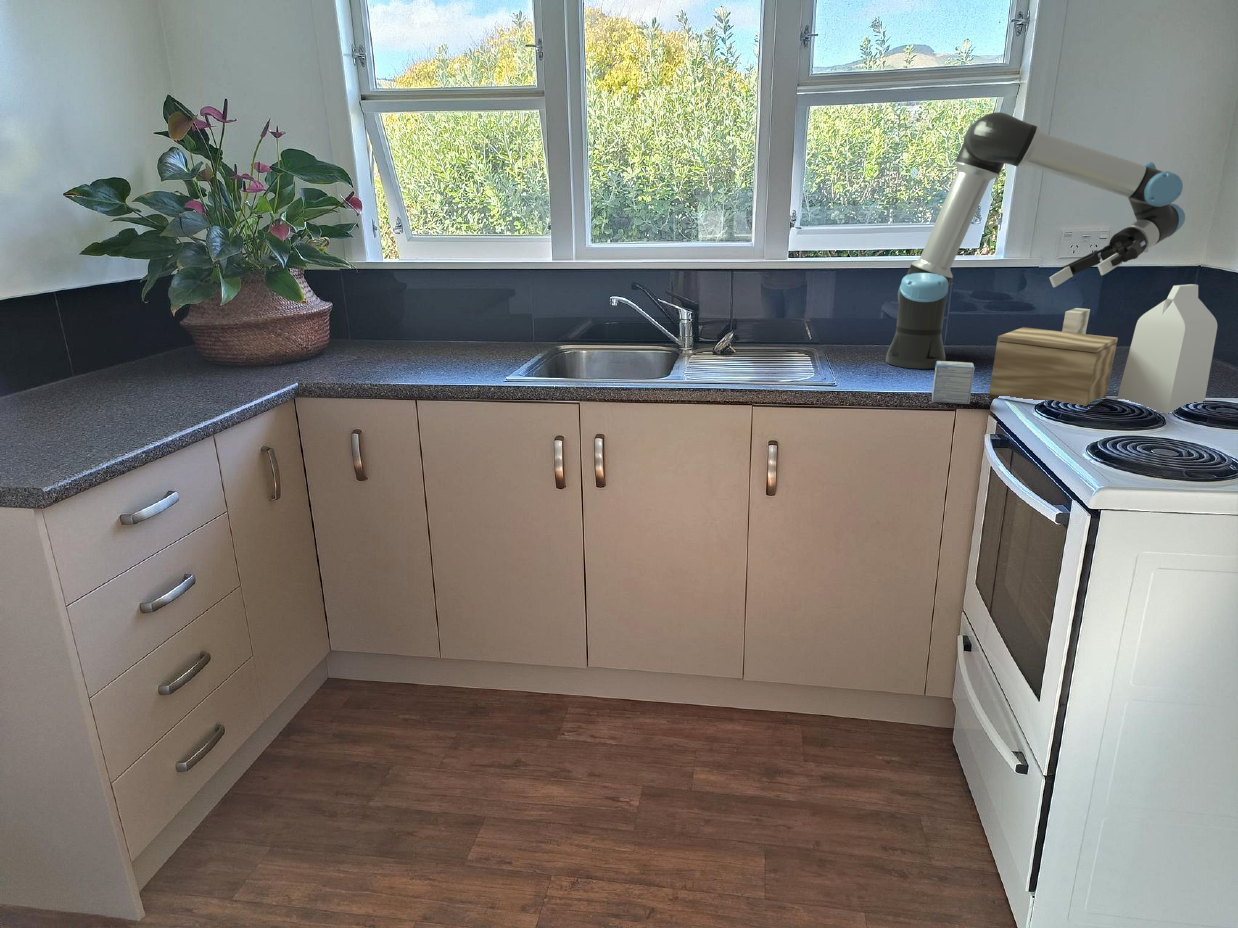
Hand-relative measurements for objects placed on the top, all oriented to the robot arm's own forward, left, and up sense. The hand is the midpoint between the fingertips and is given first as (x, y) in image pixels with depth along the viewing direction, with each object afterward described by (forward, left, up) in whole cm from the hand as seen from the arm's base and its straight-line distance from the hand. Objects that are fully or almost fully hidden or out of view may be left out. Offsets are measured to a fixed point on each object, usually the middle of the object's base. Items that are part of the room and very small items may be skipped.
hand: (1075, 276), depth 195 cm
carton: (-2, -25, -25) cm, 35 cm away
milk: (+20, -20, -25) cm, 38 cm away
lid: (0, -21, -14) cm, 25 cm away
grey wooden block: (-21, -38, -25) cm, 50 cm away
